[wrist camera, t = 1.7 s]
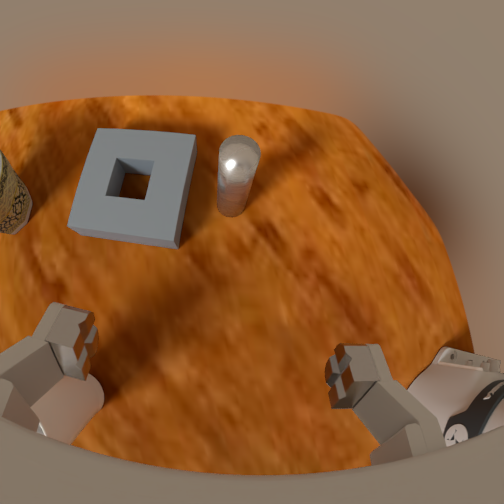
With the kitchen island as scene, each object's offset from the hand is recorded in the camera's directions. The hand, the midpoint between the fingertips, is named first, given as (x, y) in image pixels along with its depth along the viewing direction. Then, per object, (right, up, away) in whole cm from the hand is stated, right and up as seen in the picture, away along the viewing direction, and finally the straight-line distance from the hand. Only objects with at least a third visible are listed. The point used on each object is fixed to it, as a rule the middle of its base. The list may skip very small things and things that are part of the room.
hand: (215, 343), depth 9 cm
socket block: (-12, +10, +24) cm, 29 cm away
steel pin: (-1, +8, +25) cm, 26 cm away
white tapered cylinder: (-18, -13, +19) cm, 29 cm away
